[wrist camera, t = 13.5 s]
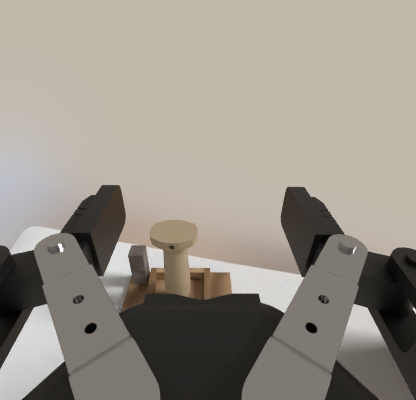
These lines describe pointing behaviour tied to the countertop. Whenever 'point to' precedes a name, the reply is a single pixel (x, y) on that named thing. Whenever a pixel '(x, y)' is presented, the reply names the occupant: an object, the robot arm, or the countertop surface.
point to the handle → (175, 252)
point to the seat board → (155, 283)
